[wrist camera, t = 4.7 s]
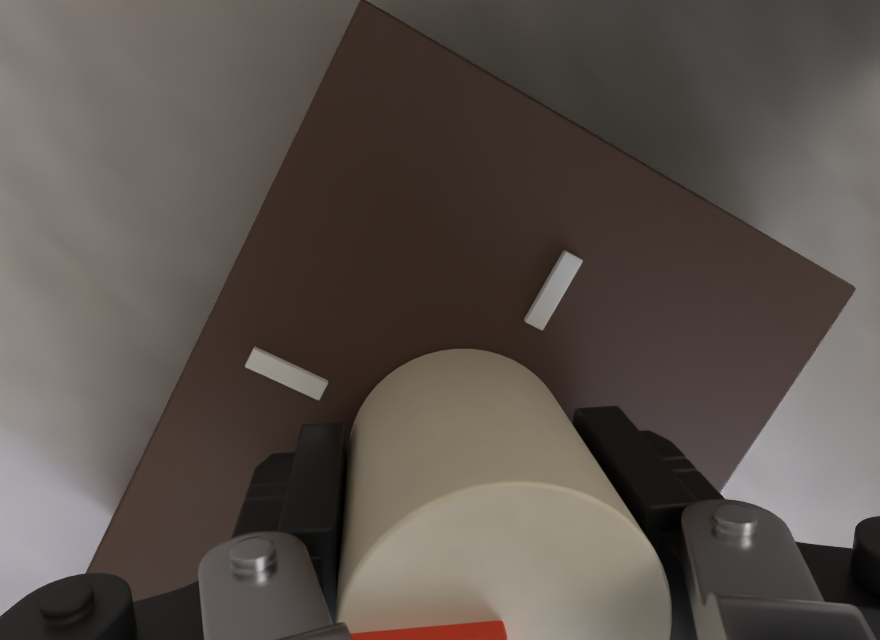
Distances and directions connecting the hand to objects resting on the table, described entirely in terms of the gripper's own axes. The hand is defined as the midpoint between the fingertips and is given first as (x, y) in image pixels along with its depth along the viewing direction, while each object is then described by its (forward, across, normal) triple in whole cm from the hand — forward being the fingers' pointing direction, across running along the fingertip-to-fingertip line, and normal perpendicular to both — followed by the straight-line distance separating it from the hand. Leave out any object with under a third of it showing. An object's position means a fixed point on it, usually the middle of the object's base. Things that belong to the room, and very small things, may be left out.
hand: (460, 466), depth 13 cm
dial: (0, 0, 0) cm, 0 cm away
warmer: (+3, 0, 0) cm, 3 cm away
